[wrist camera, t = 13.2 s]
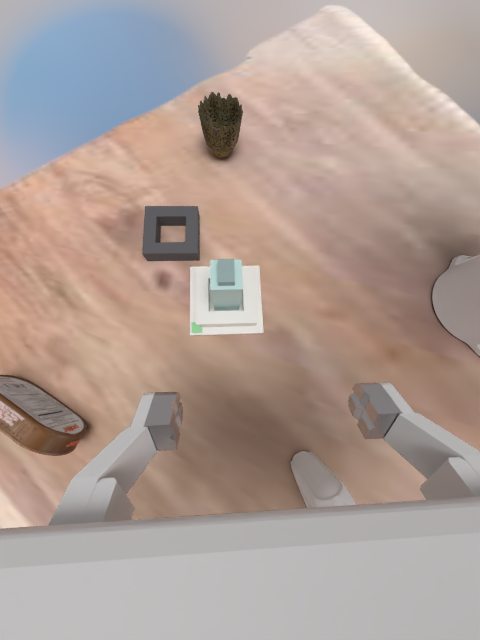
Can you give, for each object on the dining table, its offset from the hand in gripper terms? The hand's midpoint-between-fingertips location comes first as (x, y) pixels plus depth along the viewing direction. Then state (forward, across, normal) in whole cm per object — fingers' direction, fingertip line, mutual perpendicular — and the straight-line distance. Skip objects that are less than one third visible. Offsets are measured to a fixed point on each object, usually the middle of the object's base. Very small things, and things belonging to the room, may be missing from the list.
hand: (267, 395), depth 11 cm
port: (+28, +2, +10) cm, 29 cm away
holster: (+36, +11, +1) cm, 38 cm away
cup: (+50, +2, -12) cm, 51 cm away
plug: (+27, +2, +9) cm, 29 cm away
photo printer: (+7, -10, +30) cm, 32 cm away
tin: (+16, +28, +21) cm, 38 cm away
